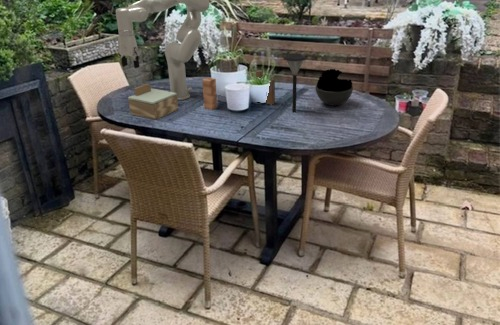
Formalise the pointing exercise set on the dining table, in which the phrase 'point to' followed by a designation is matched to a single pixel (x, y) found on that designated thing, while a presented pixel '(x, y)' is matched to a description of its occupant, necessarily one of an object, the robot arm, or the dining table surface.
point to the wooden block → (271, 88)
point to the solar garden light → (294, 71)
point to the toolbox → (153, 108)
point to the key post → (209, 93)
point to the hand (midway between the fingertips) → (131, 66)
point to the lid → (150, 94)
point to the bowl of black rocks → (333, 88)
